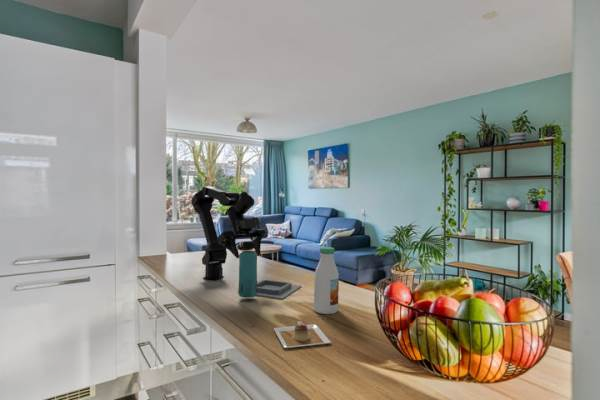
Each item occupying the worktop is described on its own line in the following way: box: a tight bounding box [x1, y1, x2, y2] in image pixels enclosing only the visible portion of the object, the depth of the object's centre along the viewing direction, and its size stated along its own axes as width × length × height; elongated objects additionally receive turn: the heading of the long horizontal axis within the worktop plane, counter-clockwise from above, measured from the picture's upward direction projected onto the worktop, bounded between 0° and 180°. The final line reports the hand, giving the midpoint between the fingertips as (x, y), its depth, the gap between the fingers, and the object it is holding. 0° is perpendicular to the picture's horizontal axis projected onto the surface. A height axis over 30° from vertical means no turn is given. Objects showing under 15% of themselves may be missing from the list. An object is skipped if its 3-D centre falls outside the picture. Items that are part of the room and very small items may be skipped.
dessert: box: [273, 320, 332, 349], centre depth 85 cm, size 12×12×5 cm
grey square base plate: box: [237, 279, 302, 301], centre depth 127 cm, size 18×18×2 cm
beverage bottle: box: [237, 241, 258, 299], centre depth 114 cm, size 6×7×20 cm
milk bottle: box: [313, 246, 340, 315], centre depth 105 cm, size 8×8×20 cm
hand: (249, 256), depth 123 cm, fingers open, 9 cm apart
